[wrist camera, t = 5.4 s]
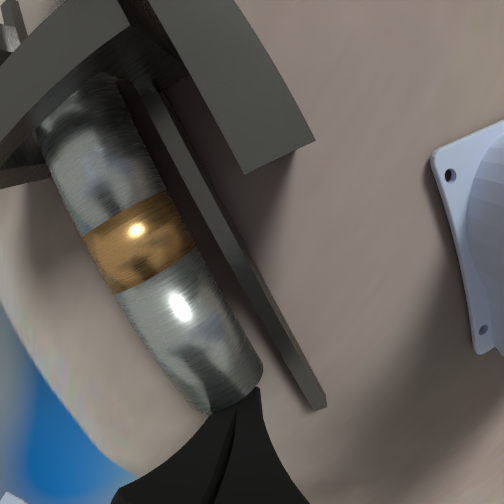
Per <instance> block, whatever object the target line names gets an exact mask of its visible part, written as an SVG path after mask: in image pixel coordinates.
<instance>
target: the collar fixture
mask: <svg viewBox="0 0 504 504" xmlns="http://www.w3.org/2000/svg"><path fill="white" fill-rule="evenodd" d="M148 1H149V3H150V5H151V6H152V8H153V10H154V12H155V13H156V15H157V17H158V18H159V20H160V22H161V24H162V25H163V26H162V25H161V24H160V23H159V22H158V21H157V20H156V19H155V18H154V17H153V16H151V15H150V14H149V13H148V12H147V11H146V10H145V9H144V8H143V7H142V6H140V5H139V4H138V3H137V2H136V1H135V0H67V1H66V2H65V3H63V4H62V5H61V6H60V7H59V8H58V9H57V10H55V11H54V12H53V13H52V14H51V15H50V16H49V17H48V18H46V19H45V20H44V21H43V22H42V23H41V24H40V25H39V26H38V27H37V28H36V29H35V30H34V31H33V32H32V33H31V34H30V35H29V36H28V35H27V32H26V28H25V25H24V22H23V18H22V14H21V11H20V7H19V3H18V1H16V0H6V1H5V2H4V3H3V4H2V5H1V11H2V15H3V20H4V24H5V25H3V24H0V189H4V188H8V187H12V186H16V185H20V184H24V183H29V182H33V181H38V180H43V179H47V178H48V177H49V176H50V175H51V173H50V170H49V168H48V166H47V163H46V161H45V158H44V156H43V153H42V151H41V148H40V146H39V143H38V141H37V138H36V135H35V133H34V130H35V129H36V128H37V127H38V126H39V125H40V124H41V123H42V122H43V121H44V120H45V119H46V118H47V117H48V116H49V115H50V114H51V113H52V112H54V111H55V110H56V109H57V108H58V107H59V106H60V105H61V104H62V103H63V102H65V101H66V100H67V99H68V98H69V97H70V96H71V95H73V94H74V93H75V92H76V91H77V90H78V89H80V88H81V87H82V86H83V85H84V84H86V83H87V82H88V81H89V80H91V79H92V78H93V77H94V76H96V75H97V74H98V73H99V72H104V73H107V74H109V75H112V76H115V77H118V78H120V79H123V80H126V81H128V82H131V83H133V84H134V86H135V88H136V90H137V92H138V94H139V96H140V98H141V100H142V102H143V104H144V106H145V108H146V110H147V112H148V114H149V116H150V117H151V119H152V121H153V123H154V125H155V127H156V129H157V131H158V133H159V135H160V137H161V139H162V141H163V142H164V144H165V146H166V148H167V150H168V152H169V154H170V156H171V158H172V160H173V162H174V163H175V165H176V167H177V169H178V171H179V173H180V175H181V177H182V178H183V180H184V182H185V184H186V186H187V188H188V190H189V192H190V193H191V195H192V197H193V199H194V201H195V203H196V205H197V206H198V208H199V210H200V212H201V214H202V216H203V217H204V219H205V221H206V223H207V225H208V227H209V228H210V230H211V232H212V234H213V236H214V238H215V239H216V241H217V243H218V245H219V247H220V249H221V250H222V252H223V254H224V256H225V258H226V259H227V261H228V263H229V265H230V267H231V268H232V270H233V272H234V274H235V276H236V277H237V279H238V281H239V283H240V284H241V286H242V288H243V290H244V292H245V293H246V295H247V297H248V299H249V300H250V302H251V304H252V306H253V307H254V309H255V311H256V313H257V314H258V316H259V318H260V320H261V321H262V323H263V325H264V327H265V328H266V330H267V332H268V334H269V335H270V337H271V339H272V341H273V342H274V344H275V346H276V348H277V349H278V351H279V353H280V354H281V356H282V358H283V360H284V361H285V363H286V365H287V366H288V368H289V370H290V372H291V373H292V375H293V377H294V378H295V380H296V382H297V383H298V385H299V387H300V388H301V390H302V392H303V394H304V395H305V397H306V399H307V400H308V402H309V404H310V405H311V407H312V409H313V410H314V411H317V410H320V409H323V408H326V407H327V402H326V395H325V393H324V391H323V389H322V388H321V386H320V384H319V382H318V380H317V378H316V376H315V375H314V373H313V371H312V369H311V367H310V365H309V363H308V362H307V360H306V358H305V356H304V354H303V352H302V350H301V349H300V347H299V345H298V343H297V341H296V339H295V337H294V336H293V334H292V332H291V330H290V328H289V326H288V324H287V322H286V321H285V319H284V317H283V315H282V313H281V311H280V309H279V308H278V306H277V304H276V302H275V300H274V298H273V296H272V295H271V293H270V291H269V289H268V287H267V285H266V283H265V281H264V280H263V278H262V276H261V274H260V272H259V270H258V268H257V266H256V265H255V263H254V261H253V259H252V257H251V255H250V253H249V252H248V250H247V248H246V246H245V244H244V242H243V240H242V238H241V237H240V235H239V233H238V231H237V229H236V227H235V225H234V223H233V222H232V220H231V218H230V216H229V214H228V212H227V210H226V208H225V207H224V205H223V203H222V201H221V199H220V197H219V195H218V193H217V192H216V190H215V188H214V186H213V184H212V182H211V180H210V178H209V177H208V175H207V173H206V171H205V169H204V167H203V165H202V163H201V161H200V160H199V158H198V156H197V154H196V152H195V150H194V148H193V146H192V145H191V143H190V141H189V139H188V137H187V135H186V133H185V131H184V129H183V128H182V126H181V124H180V122H179V120H178V118H177V116H176V114H175V113H174V111H173V109H172V107H171V105H170V103H169V101H168V99H167V97H166V96H165V94H164V92H163V90H164V89H166V88H167V87H169V86H171V85H172V84H174V83H175V82H177V81H179V80H181V79H182V78H184V77H186V76H187V75H189V74H190V75H191V77H192V79H193V80H194V82H195V84H196V86H197V88H198V89H199V91H200V93H201V95H202V97H203V98H204V100H205V102H206V104H207V106H208V108H209V109H210V111H211V113H212V115H213V117H214V119H215V121H216V122H217V124H218V126H219V128H220V130H221V132H222V134H223V135H224V137H225V139H226V141H227V143H228V145H229V147H230V149H231V150H232V152H233V154H234V156H235V158H236V160H237V162H238V164H239V166H240V167H241V169H242V171H243V173H244V175H246V174H248V173H249V172H251V171H253V170H255V169H257V168H259V167H261V166H263V165H266V164H268V163H270V162H272V161H274V160H276V159H278V158H280V157H282V156H284V155H286V154H288V153H290V152H292V151H294V150H297V149H299V148H301V147H303V146H305V145H307V144H309V143H312V142H314V141H316V140H315V138H314V136H313V134H312V132H311V130H310V128H309V126H308V124H307V122H306V120H305V118H304V117H303V115H302V113H301V111H300V109H299V107H298V105H297V103H296V102H295V100H294V98H293V96H292V94H291V93H290V91H289V89H288V87H287V85H286V84H285V82H284V80H283V78H282V77H281V75H280V73H279V71H278V70H277V68H276V66H275V65H274V63H273V61H272V59H271V58H270V56H269V54H268V53H267V51H266V50H265V48H264V46H263V45H262V43H261V41H260V40H259V38H258V37H257V35H256V33H255V32H254V30H253V29H252V27H251V26H250V24H249V22H248V21H247V19H246V18H245V16H244V15H243V13H242V12H241V10H240V9H239V7H238V6H237V4H236V3H235V1H234V0H148ZM206 413H207V414H208V415H209V416H210V415H211V413H212V412H206Z"/></svg>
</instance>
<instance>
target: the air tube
mask: <svg viewBox="0 0 504 504" xmlns="http://www.w3.org/2000/svg"><path fill="white" fill-rule="evenodd" d="M34 133H35V135H36V138H37V141H38V143H39V146H40V148H41V151H42V153H43V156H44V158H45V161H46V163H47V166H48V168H49V170H50V173H51V175H52V177H53V180H54V182H55V184H56V186H57V189H58V191H59V193H60V195H61V197H62V200H63V202H64V204H65V206H66V208H67V210H68V212H69V214H70V216H71V218H72V220H73V222H74V224H75V226H76V228H77V230H78V232H79V234H80V236H81V238H82V240H83V242H84V244H85V246H86V248H87V249H88V251H89V253H90V255H91V257H92V259H93V260H94V262H95V264H96V266H97V268H98V269H99V271H100V273H101V275H102V276H103V278H104V280H105V282H106V283H107V285H108V287H109V288H110V290H111V292H112V293H113V295H114V297H115V298H116V300H117V302H118V303H119V305H120V307H121V308H122V310H123V311H124V313H125V314H126V316H127V318H128V319H129V321H130V322H131V324H132V325H133V327H134V328H135V330H136V331H137V333H138V334H139V336H140V337H141V339H142V340H143V342H144V343H145V345H146V346H147V348H148V349H149V351H150V352H151V354H152V355H153V356H154V358H155V359H156V361H157V362H158V363H159V365H160V366H161V368H162V369H163V370H164V372H165V373H166V374H167V376H168V377H169V379H170V380H171V381H172V383H173V384H174V385H175V387H176V388H177V389H178V390H179V392H180V393H181V394H182V396H183V397H184V398H185V399H186V401H187V402H188V403H189V405H190V406H191V407H192V408H193V409H195V410H197V411H201V412H213V411H218V410H222V409H224V408H227V407H229V406H231V405H233V404H235V403H237V402H239V401H240V400H241V399H243V398H244V397H245V396H247V395H248V394H249V393H250V392H251V391H252V390H253V389H254V388H255V386H256V385H257V384H258V382H259V380H260V379H261V376H262V374H263V363H262V361H261V359H260V358H259V356H258V354H257V353H256V351H255V349H254V348H253V346H252V344H251V342H250V341H249V339H248V337H247V336H246V334H245V332H244V330H243V329H242V327H241V325H240V323H239V322H238V320H237V318H236V317H235V315H234V313H233V311H232V309H231V308H230V306H229V304H228V302H227V301H226V299H225V297H224V295H223V294H222V292H221V290H220V288H219V286H218V285H217V283H216V281H215V279H214V277H213V276H212V274H211V272H210V270H209V268H208V266H207V265H206V263H205V261H204V259H203V257H202V255H201V254H200V252H199V250H198V248H197V246H196V244H195V242H194V241H193V239H192V237H191V235H190V233H189V231H188V229H187V227H186V225H185V224H184V222H183V220H182V218H181V216H180V214H179V212H178V210H177V208H176V206H175V204H174V202H173V201H172V199H171V197H170V195H169V193H168V191H167V189H166V187H165V185H164V183H163V181H162V179H161V177H160V175H159V173H158V171H157V169H156V167H155V165H154V163H153V161H152V159H151V157H150V155H149V153H148V151H147V149H146V147H145V145H144V143H143V141H142V139H141V137H140V135H139V132H138V130H137V128H136V126H135V124H134V122H133V120H132V118H131V116H130V114H129V112H128V109H127V107H126V105H125V103H124V101H123V99H122V97H121V94H120V92H119V90H118V88H117V86H116V84H115V81H114V79H113V77H112V75H109V74H107V73H104V72H99V73H98V74H97V75H96V76H94V77H93V78H92V79H91V80H89V81H88V82H87V83H86V84H84V85H83V86H82V87H81V88H80V89H78V90H77V91H76V92H75V93H74V94H73V95H71V96H70V97H69V98H68V99H67V100H66V101H65V102H63V103H62V104H61V105H60V106H59V107H58V108H57V109H56V110H55V111H54V112H52V113H51V114H50V115H49V116H48V117H47V118H46V119H45V120H44V121H43V122H42V123H41V124H40V125H39V126H38V127H37V128H36V129H35V130H34Z"/></svg>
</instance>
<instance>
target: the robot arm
mask: <svg viewBox="0 0 504 504" xmlns="http://www.w3.org/2000/svg"><path fill="white" fill-rule="evenodd" d="M430 165H431V169H432V171H433V174H434V177H435V180H436V183H437V186H438V189H439V192H440V195H441V198H442V201H443V204H444V208H445V211H446V214H447V218H448V221H449V225H450V228H451V232H452V236H453V239H454V243H455V247H456V251H457V256H458V260H459V264H460V269H461V273H462V278H463V283H464V289H465V294H466V300H467V305H468V312H469V318H470V325H471V333H472V341H473V348H474V350H475V352H476V353H477V354H479V355H480V354H484V353H486V352H488V351H489V350H491V349H493V348H494V347H495V348H496V349H497V350H498V351H499V352H500V353H501V355H502V356H503V357H504V119H503V120H501V121H499V122H496V123H494V124H492V125H490V126H487V127H485V128H483V129H480V130H478V131H476V132H474V133H471V134H469V135H467V136H465V137H462V138H460V139H458V140H456V141H453V142H451V143H449V144H447V145H444V146H442V147H440V148H438V149H436V150H435V151H433V153H432V155H431V157H430ZM447 169H449V170H450V171H451V179H450V180H449V181H448V182H447V181H446V180H445V172H446V170H447ZM483 325H484V326H483ZM482 326H483V328H482V329H481V330H480V328H481V327H482ZM0 504H28V503H27V502H25V501H24V500H22V499H20V498H19V497H17V496H15V495H13V494H11V493H10V492H6V493H5V495H4V496H3V498H2V499H1V501H0ZM111 504H310V503H309V502H308V501H307V500H306V498H305V497H304V496H303V495H302V493H301V492H300V491H299V489H298V488H297V487H296V485H295V484H294V483H293V481H292V480H291V478H290V476H289V475H288V473H287V472H286V470H285V468H284V467H283V465H282V463H281V461H280V460H279V458H278V456H277V454H276V452H275V450H274V447H273V445H272V443H271V440H270V438H269V435H268V433H267V430H266V427H265V423H264V420H263V413H262V403H261V394H260V389H259V388H258V387H255V388H254V389H253V390H252V391H251V392H250V393H249V394H248V395H247V396H245V397H244V398H243V399H241V400H240V401H239V402H237V403H235V404H233V405H231V406H229V407H227V408H224V409H222V410H218V411H213V412H212V413H211V415H210V416H209V417H208V419H207V420H206V421H205V423H204V424H203V425H202V426H201V428H200V429H199V430H198V431H197V432H196V433H195V435H194V436H193V437H192V438H191V439H190V440H189V441H188V442H187V443H186V444H185V445H184V446H183V447H182V448H181V449H180V450H179V451H177V452H176V453H175V454H174V455H173V456H171V457H170V458H169V459H168V460H167V461H165V462H164V463H163V464H161V465H160V466H158V467H157V468H155V469H154V470H152V471H151V472H149V473H148V474H146V475H145V476H143V477H141V478H139V479H137V480H135V481H134V482H132V483H129V484H127V485H125V486H123V487H121V488H119V489H118V491H117V493H116V494H115V495H114V497H113V499H112V501H111Z"/></svg>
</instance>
